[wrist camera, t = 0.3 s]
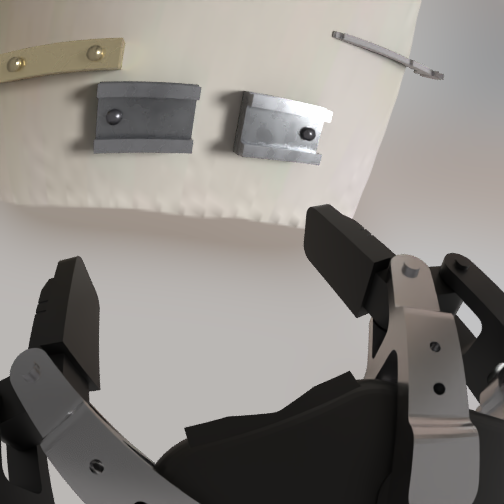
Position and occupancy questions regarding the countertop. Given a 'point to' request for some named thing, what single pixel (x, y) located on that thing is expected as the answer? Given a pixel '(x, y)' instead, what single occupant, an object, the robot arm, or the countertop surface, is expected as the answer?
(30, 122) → the countertop surface
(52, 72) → the chain link plate
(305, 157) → the metal brackets
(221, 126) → the countertop surface
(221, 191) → the countertop surface
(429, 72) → the caliper
